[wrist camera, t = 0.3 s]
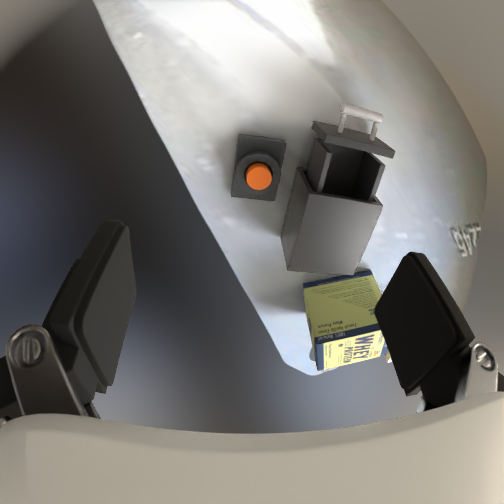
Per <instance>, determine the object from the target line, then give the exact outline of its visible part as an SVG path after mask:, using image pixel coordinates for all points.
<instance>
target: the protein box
mask: <svg viewBox="0 0 504 504" xmlns="http://www.w3.org/2000/svg"><path fill="white" fill-rule="evenodd" d="M303 293H304V302H305V310H306V317H307V322H308V326H309V331H310V336H311V341H312V346H313V351H314V356H315V361H316V366H317V370H318V371H319V370H325V369H329V368H333V367H338V366H342V365H346V364H350V363H354V362H359V361H363V360H367V359H371V358H375V357H378V356H382V355H385V354H387V351H388V348H387V345H386V343H385V340H384V337H383V335H382V332H381V330H380V327H379V324H378V322H377V319H376V317H375V314H374V309H375V306H376V304H377V302H378V301H379V299H380V297H381V296H382V294H381V292H380V290H379V287H378V285H377V283H376V281H375V279H374V277H373V274H372V272H371V270H369V271H364V272H360V273H355V274H354V275H345V276H340V277H335V278H330V279H325V280H320V281H315V282H309V283H304V284H303Z"/></svg>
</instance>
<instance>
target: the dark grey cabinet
mask: <svg viewBox="0 0 504 504" xmlns="http://www.w3.org/2000/svg"><path fill="white" fill-rule="evenodd" d="M306 171H307V169H302V168H297V170H296V174H295V178H294V183H293V187H292V191H291V196H290V200H289V204H288V208H287V212H286V217H285V221H284V225H283V229H282V233H281V242H282V247H283V252H284V256H285V261H286V266H287V271H296V272H310V273H324V274H338V275H354V273H355V271H356V268H357V266H358V264H359V262H360V260H361V257H362V255H363V253H364V251H365V248H366V246H367V244H368V241H369V239H370V237H371V234H372V232H373V230H374V227H375V225H376V222H377V220H378V218H379V215H380V213H381V210H382V207H383V205H382V204H381V202H380V201H379V200H378V199H377V197H376V196H375V197H374V199H373V202H372V201H367V200H361V199H355V198H350V197H344V196H338V195H332V194H325V193H319V192H313V190H312V188H311V186H310V184H309V182H308V180H307V178H306V176H305V175H306Z"/></svg>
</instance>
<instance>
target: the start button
mask: <svg viewBox="0 0 504 504" xmlns="http://www.w3.org/2000/svg"><path fill="white" fill-rule="evenodd" d="M246 179H247V183H248V185H249V186H250V187H251V188H253V189H256V190H262V189H265V188H267V187H268V186H269V185H270V183H271V181H272V175H271V172H270V169H269V167H268V166H267V165H265V164H263V163H255V164H252V165H251V166H250V167H249V168H248V169H247V172H246Z"/></svg>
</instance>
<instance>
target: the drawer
mask: <svg viewBox="0 0 504 504" xmlns="http://www.w3.org/2000/svg"><path fill="white" fill-rule="evenodd" d="M340 112H341V113H342V114H341V118H340V122H339V126H334V125H330V124H325V123H321V122H316V121H313V124H312V129H313V130H314V131H315V132H316V133H317V134H318V136H319V137H320V138H321V139H318V138H314V142H313V147H312V151H311V155H310V159H309V163H308V167H307V171H306V175H305V176H306V178H307V180H308V182H309V184H310V186H311V188H312V190H313V192H319V193H325V194H332V195H338V196H344V197H350V198H355V199H361V200H367V201H372V202H373V199H374V197H375V194H376V191H377V188H378V186H379V183H380V180H381V177H382V174H383V171H384V168H385V165H384V164H383V163H382V162H381V161H380V160H379V159H378V158H376V157H375V156H374V155H373V154H372V153H374V154H377V155H381V156H385V157H389V158H393V157H394V154H395V151H394V150H393V149H392V148H390V147H389V146H388V145H386V144H385V143H384V142H382V141H381V140H380V139H378V138H377V137H375V136H376V132H377V129H378V125H379V123H381V122H382V121H383V115H382V114H380V113H377V112H373V111H370V110H367V109H363V108H360V107H356V106H353V105H349V104H345V103H342V104H341V107H340ZM347 114H348V115H352V116H356V117H360V118H363V119H367V120H370V121H374V123H373V127H372V130H371V134H366V133H363V132H359V131H355V130H351V129H347V128H344V124H345V120H346V116H347Z"/></svg>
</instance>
